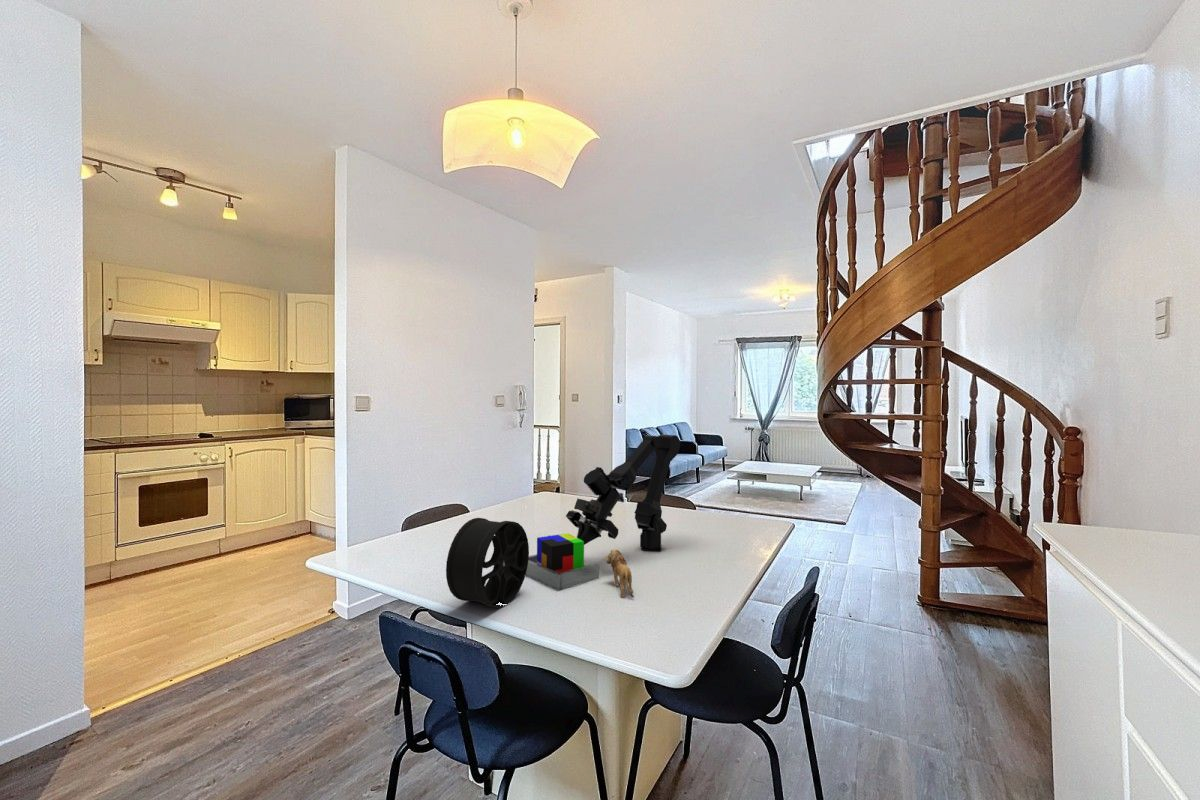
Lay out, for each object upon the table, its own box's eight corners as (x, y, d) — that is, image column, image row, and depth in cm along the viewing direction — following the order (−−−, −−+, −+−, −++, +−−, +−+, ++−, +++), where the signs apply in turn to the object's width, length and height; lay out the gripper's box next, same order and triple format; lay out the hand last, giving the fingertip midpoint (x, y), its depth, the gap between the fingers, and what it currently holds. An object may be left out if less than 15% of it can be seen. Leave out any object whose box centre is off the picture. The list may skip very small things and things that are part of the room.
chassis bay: (558, 561, 154) (558, 548, 154) (598, 578, 141) (598, 563, 141) (519, 572, 145) (519, 558, 145) (558, 590, 131) (558, 575, 131)
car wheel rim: (481, 621, 113) (481, 532, 113) (445, 613, 117) (446, 527, 117) (528, 590, 131) (529, 513, 131) (496, 584, 135) (496, 510, 135)
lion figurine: (602, 581, 138) (603, 548, 138) (620, 578, 140) (620, 546, 140) (624, 601, 125) (624, 565, 125) (643, 598, 126) (643, 562, 126)
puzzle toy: (536, 572, 145) (537, 537, 145) (567, 566, 150) (568, 533, 150) (551, 583, 137) (551, 546, 137) (583, 576, 142) (584, 541, 142)
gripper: (570, 484, 157) (541, 525, 150) (611, 492, 143) (581, 538, 136) (589, 506, 163) (562, 546, 155) (630, 516, 149) (603, 561, 141)
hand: (576, 547), depth 147 cm, fingers closed
